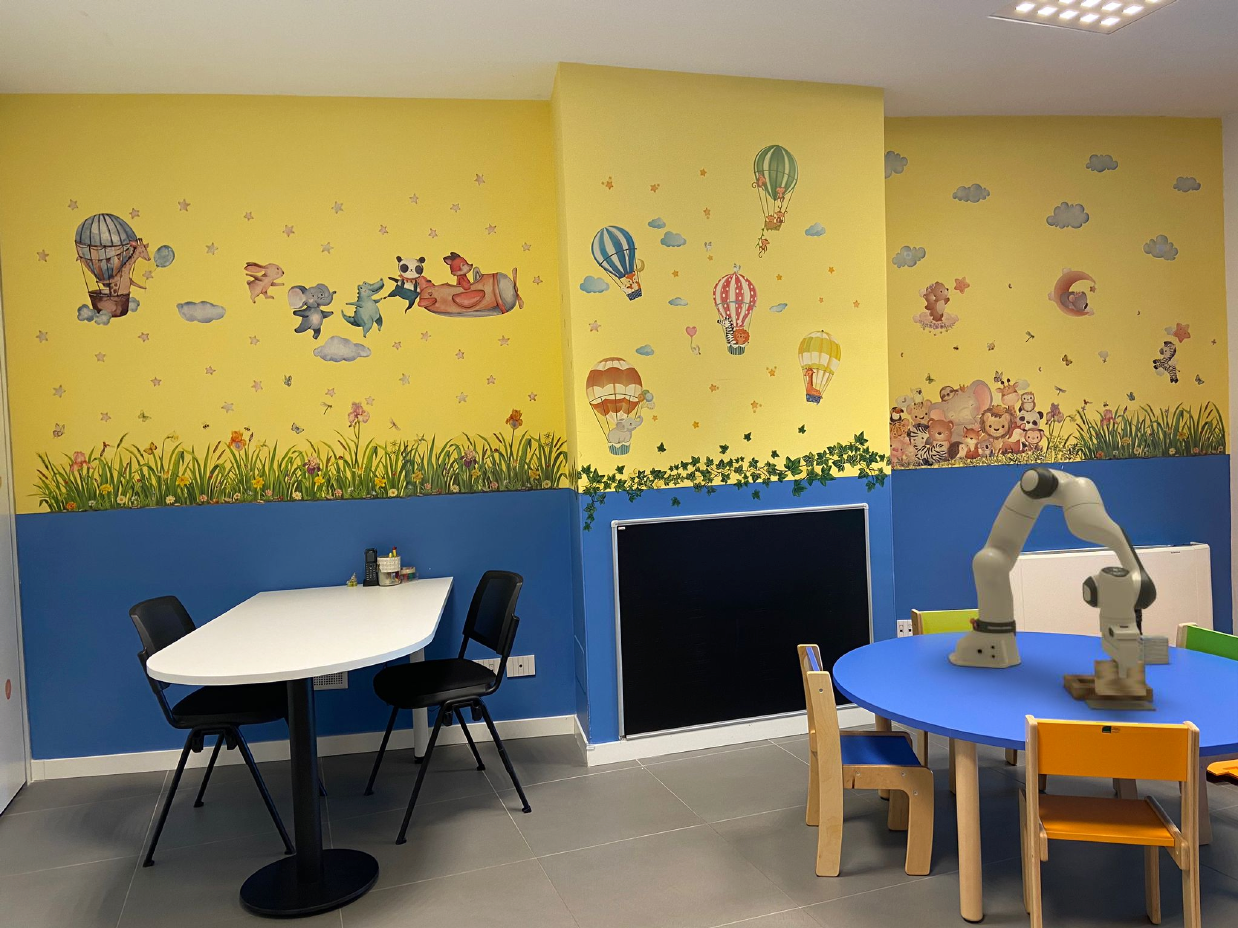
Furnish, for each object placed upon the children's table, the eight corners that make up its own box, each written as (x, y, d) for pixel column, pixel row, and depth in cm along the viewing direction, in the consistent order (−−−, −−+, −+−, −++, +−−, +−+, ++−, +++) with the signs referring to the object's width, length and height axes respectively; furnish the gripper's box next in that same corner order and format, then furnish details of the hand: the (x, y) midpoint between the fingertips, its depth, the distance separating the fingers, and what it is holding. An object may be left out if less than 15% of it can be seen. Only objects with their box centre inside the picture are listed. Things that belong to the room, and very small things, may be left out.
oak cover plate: (1098, 694, 247) (1097, 662, 246) (1095, 691, 250) (1094, 659, 249) (1146, 695, 244) (1144, 663, 243) (1142, 692, 247) (1141, 660, 246)
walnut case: (1075, 699, 254) (1075, 687, 254) (1063, 685, 268) (1063, 674, 268) (1153, 701, 249) (1152, 688, 249) (1137, 686, 263) (1136, 675, 263)
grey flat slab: (1091, 709, 245) (1091, 707, 245) (1084, 701, 252) (1084, 699, 252) (1155, 710, 241) (1155, 708, 241) (1147, 702, 248) (1147, 700, 248)
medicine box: (1162, 660, 289) (1161, 634, 288) (1169, 664, 284) (1168, 637, 284) (1137, 661, 289) (1136, 635, 289) (1143, 664, 285) (1143, 638, 285)
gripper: (1094, 618, 257) (1096, 665, 257) (1116, 634, 237) (1118, 685, 237) (1118, 618, 255) (1120, 665, 256) (1142, 634, 236) (1144, 685, 236)
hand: (1119, 675), depth 246 cm, fingers closed on oak cover plate, 3 cm apart
